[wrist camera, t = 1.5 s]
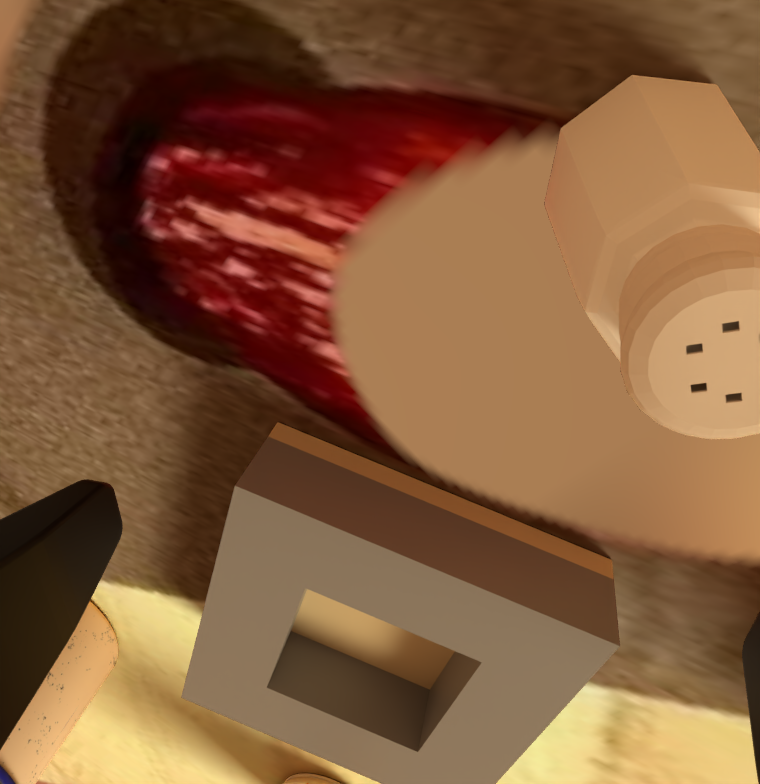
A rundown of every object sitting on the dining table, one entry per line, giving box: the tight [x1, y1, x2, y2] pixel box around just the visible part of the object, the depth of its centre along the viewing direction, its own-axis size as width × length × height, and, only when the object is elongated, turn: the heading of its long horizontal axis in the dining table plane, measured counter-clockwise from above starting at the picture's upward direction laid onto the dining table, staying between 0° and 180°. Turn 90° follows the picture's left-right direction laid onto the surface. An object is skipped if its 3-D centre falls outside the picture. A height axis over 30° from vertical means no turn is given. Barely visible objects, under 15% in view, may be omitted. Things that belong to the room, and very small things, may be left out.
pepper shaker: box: [544, 75, 760, 439], centre depth 13 cm, size 5×5×11 cm
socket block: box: [181, 422, 620, 784], centre depth 27 cm, size 14×14×4 cm
